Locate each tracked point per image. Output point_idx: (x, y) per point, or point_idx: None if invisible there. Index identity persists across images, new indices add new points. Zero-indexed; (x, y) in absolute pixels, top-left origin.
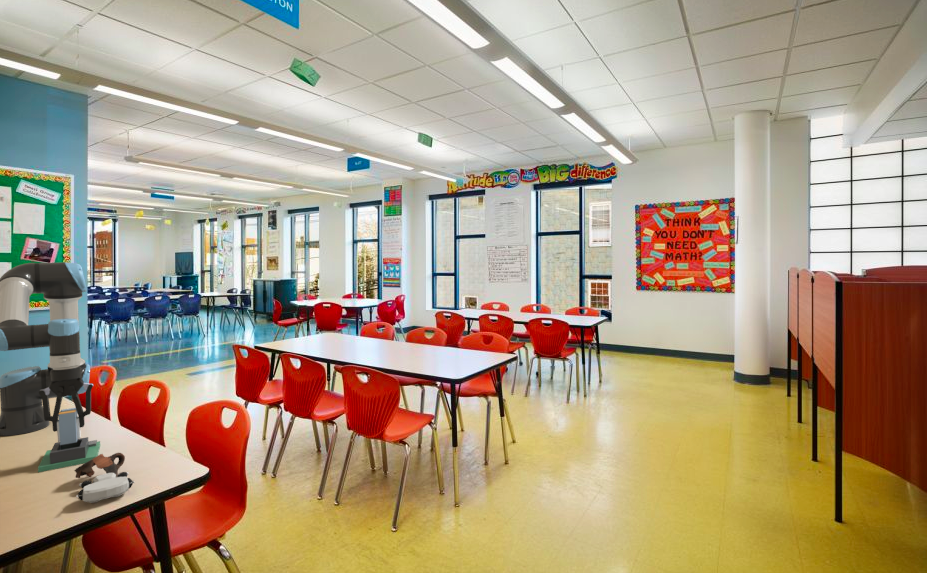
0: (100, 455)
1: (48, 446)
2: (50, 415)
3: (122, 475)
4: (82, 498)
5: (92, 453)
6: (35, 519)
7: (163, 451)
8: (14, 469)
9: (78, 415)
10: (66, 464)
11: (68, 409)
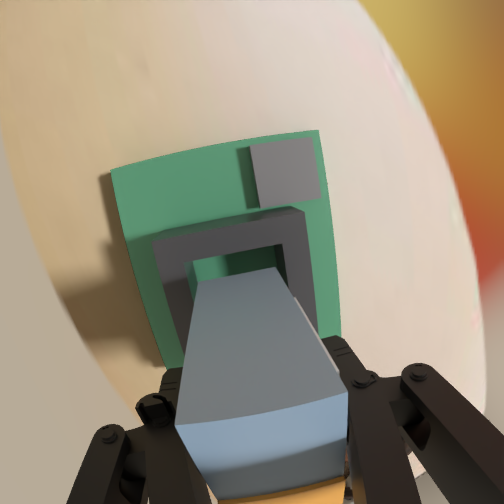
0: None
1: (93, 55)
2: (123, 449)
3: None
4: None
5: (324, 304)
6: None
7: (477, 311)
8: (74, 298)
9: (346, 438)
10: None
11: (264, 443)
